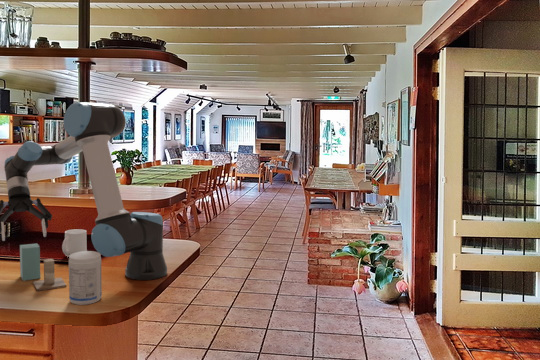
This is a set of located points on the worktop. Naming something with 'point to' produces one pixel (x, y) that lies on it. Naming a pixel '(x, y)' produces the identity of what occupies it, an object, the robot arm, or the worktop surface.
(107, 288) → the worktop surface
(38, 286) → the grey pedestal stand
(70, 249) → the mug
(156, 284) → the worktop surface
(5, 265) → the worktop surface
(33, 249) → the tall teal pillar
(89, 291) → the supplement tub
